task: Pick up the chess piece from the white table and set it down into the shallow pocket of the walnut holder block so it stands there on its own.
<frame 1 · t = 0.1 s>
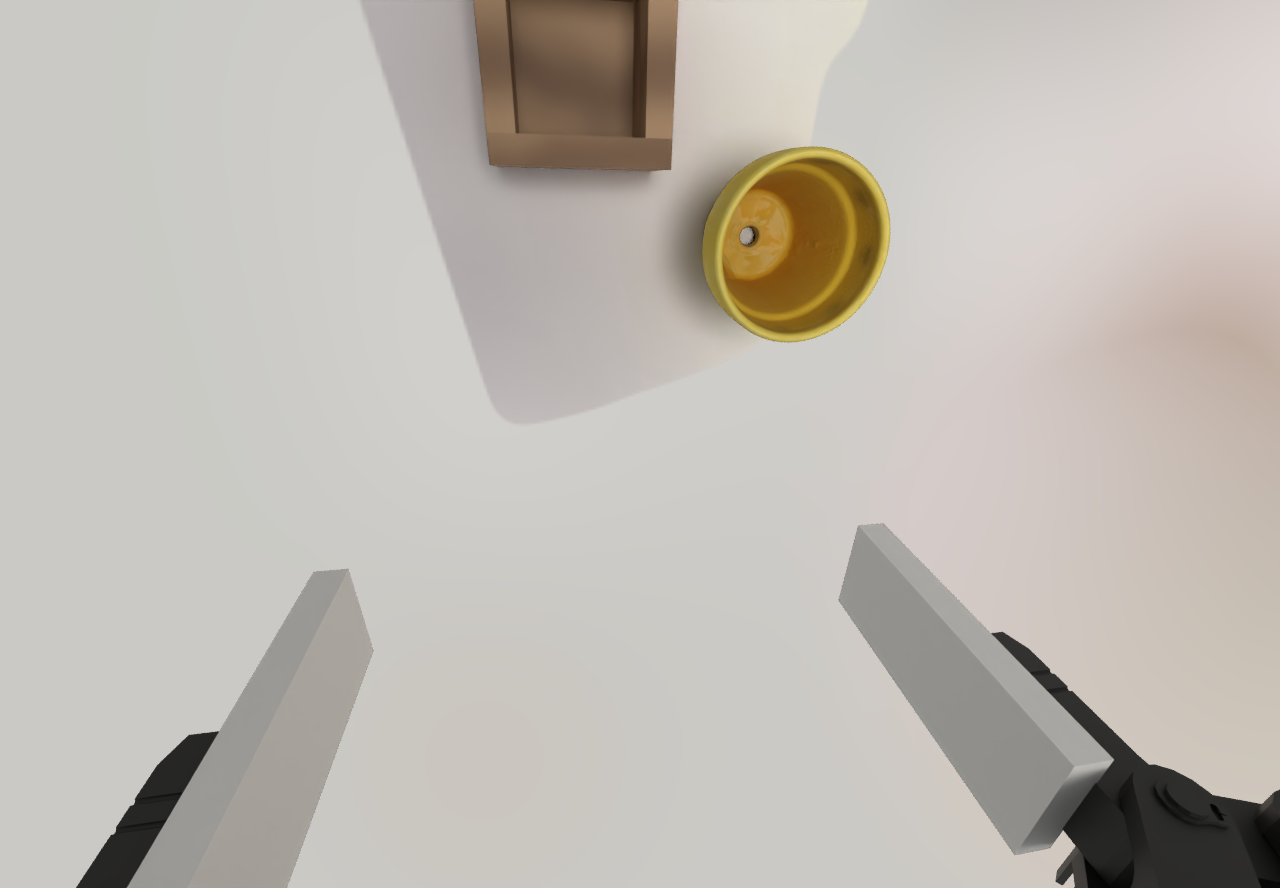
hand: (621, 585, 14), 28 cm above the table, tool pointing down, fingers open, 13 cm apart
plant pot: (744, 235, 37), on the table
walnut holder: (574, 76, 31), on the table
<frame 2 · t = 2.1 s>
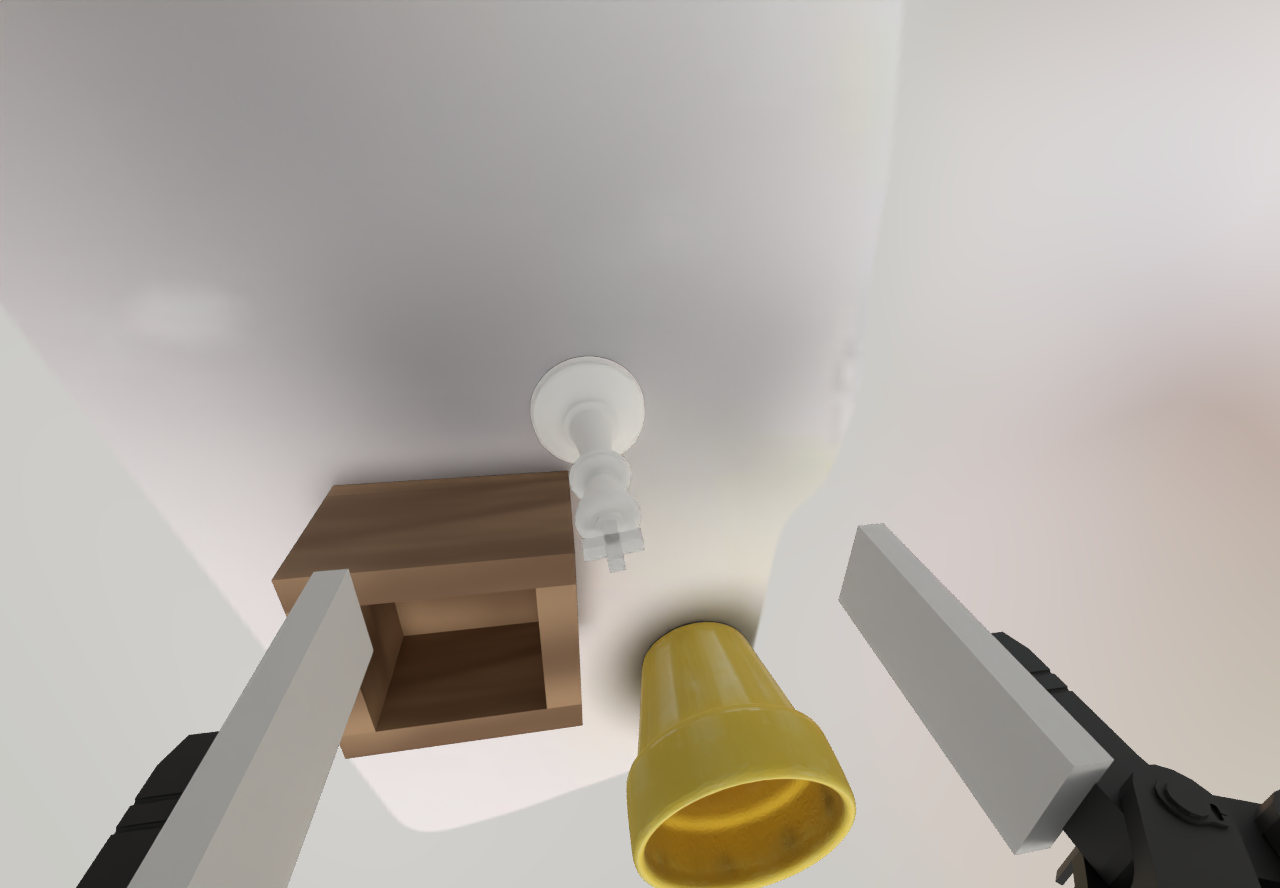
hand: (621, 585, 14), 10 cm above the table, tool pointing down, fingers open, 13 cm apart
plant pot: (692, 657, 31), on the table
chess piece: (587, 408, 23), on the table
walnut holder: (469, 561, 25), on the table
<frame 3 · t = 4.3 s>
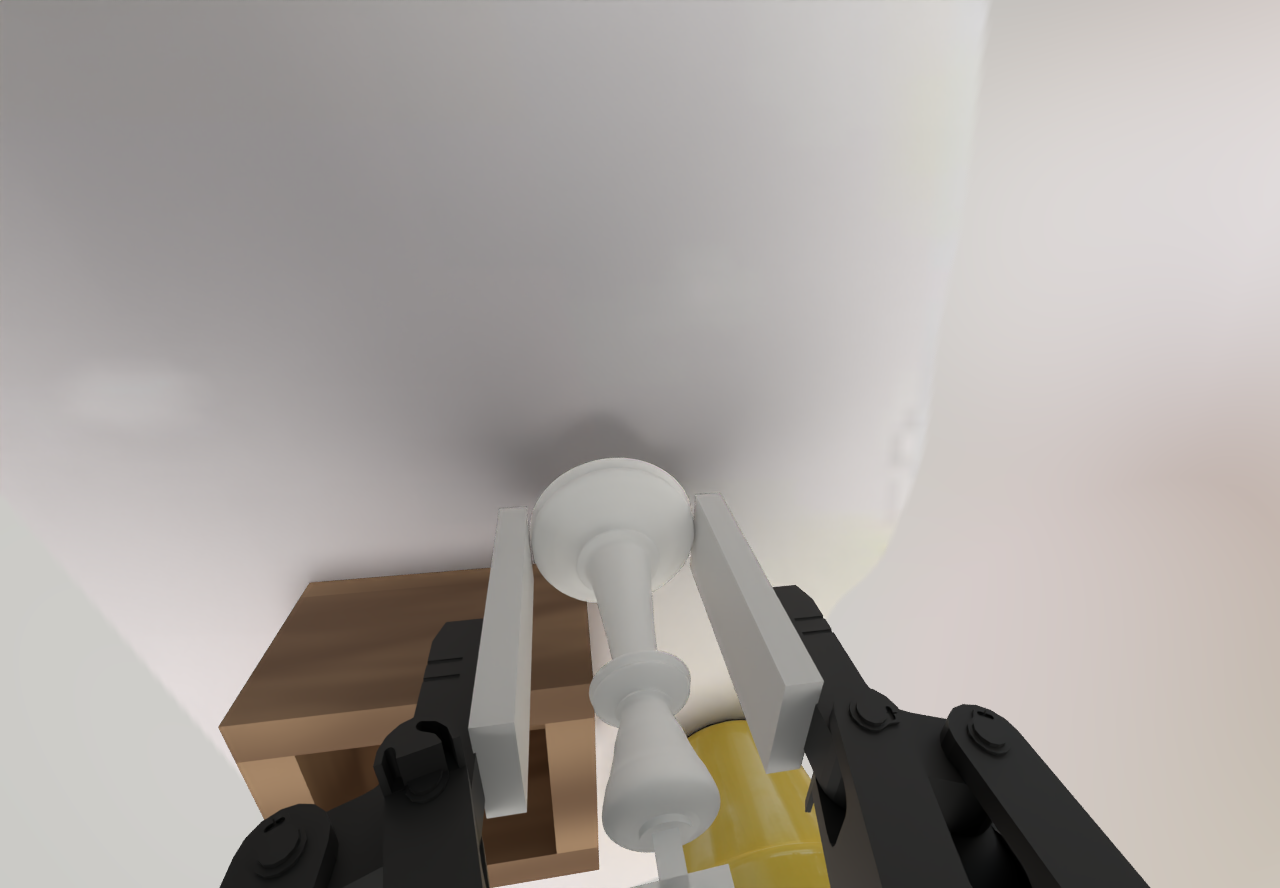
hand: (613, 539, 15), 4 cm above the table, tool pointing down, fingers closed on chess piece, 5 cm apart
plant pot: (722, 757, 28), on the table
chess piece: (611, 524, 16), point 3 cm above the table, touching gripper
walnut holder: (468, 661, 22), on the table
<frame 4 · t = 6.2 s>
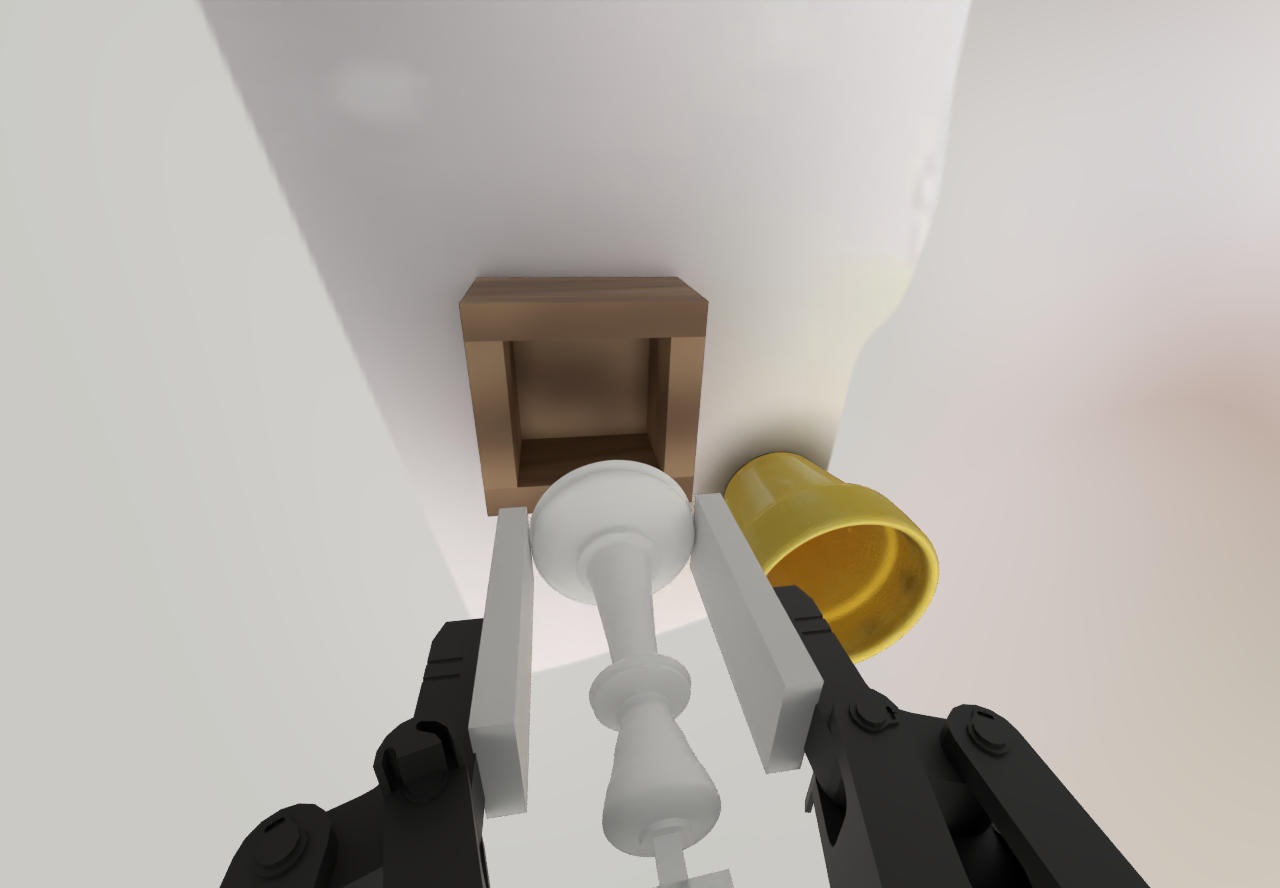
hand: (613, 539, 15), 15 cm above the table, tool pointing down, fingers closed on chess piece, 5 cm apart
plant pot: (767, 494, 34), on the table
chess piece: (611, 526, 16), point 14 cm above the table, touching gripper
walnut holder: (582, 371, 28), on the table
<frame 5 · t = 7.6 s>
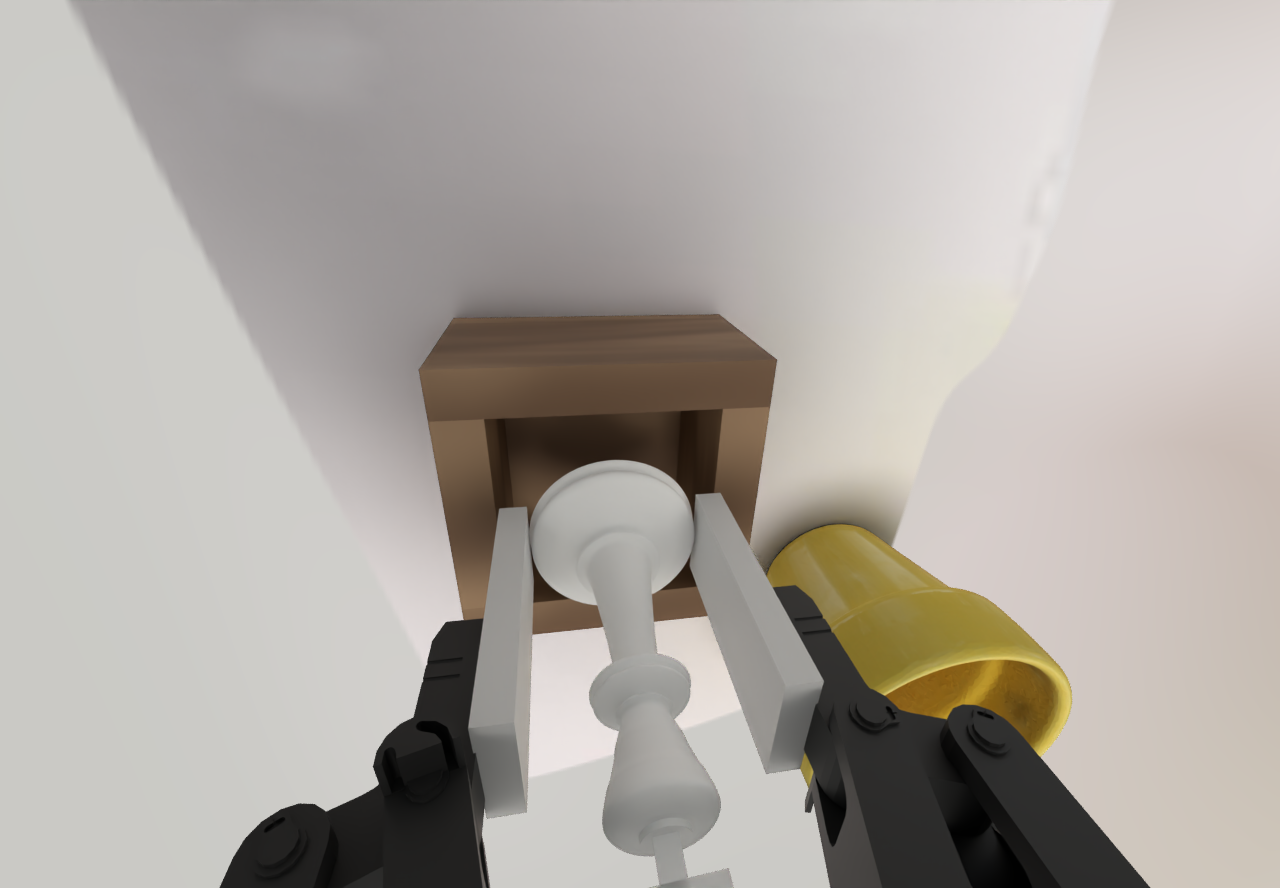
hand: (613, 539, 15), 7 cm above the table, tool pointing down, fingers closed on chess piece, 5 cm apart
plant pot: (819, 571, 28), on the table
chess piece: (611, 526, 16), point 7 cm above the table, touching gripper
walnut holder: (593, 433, 22), on the table
when the fingers open (7 cm above the table, at t = 8.4 s): chess piece drops 6 cm, resting on walnut holder.
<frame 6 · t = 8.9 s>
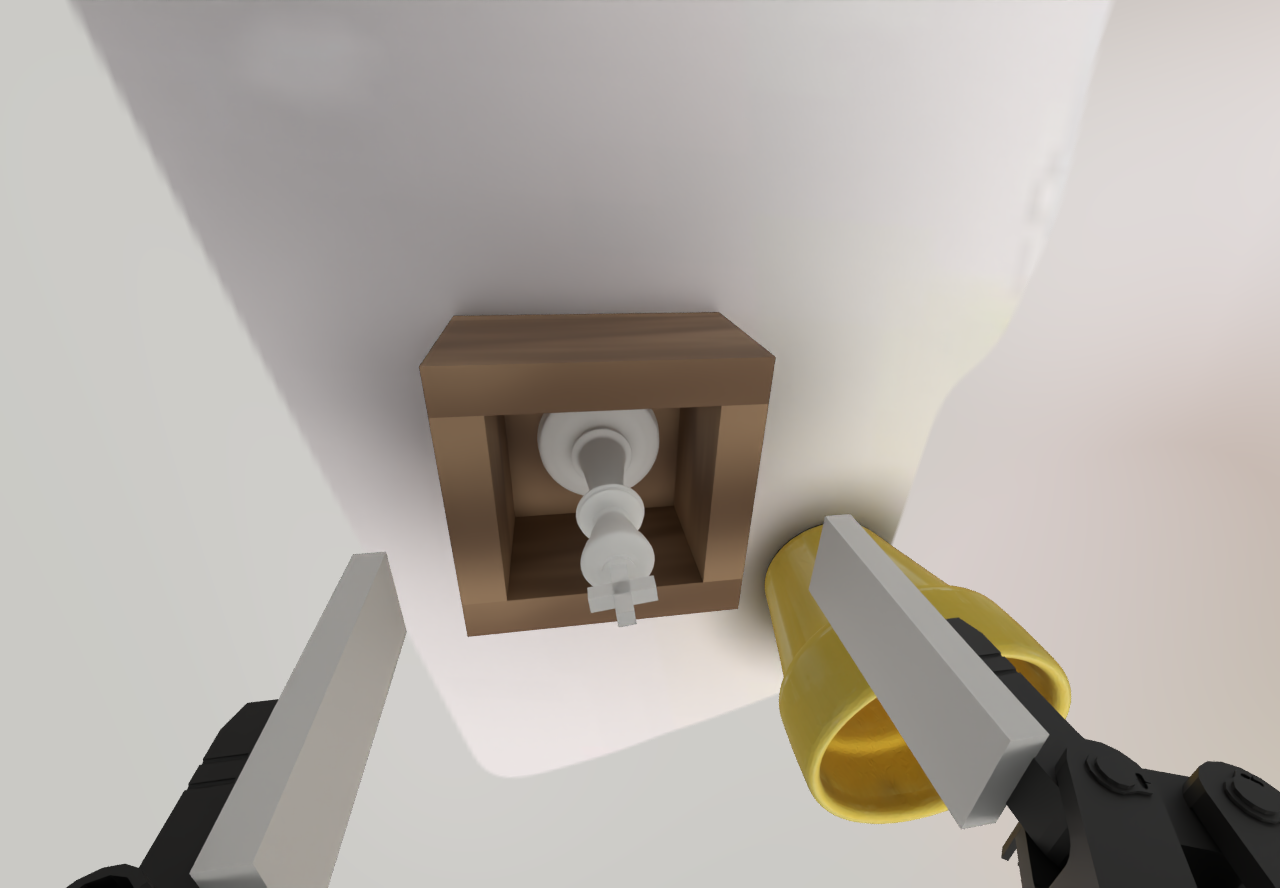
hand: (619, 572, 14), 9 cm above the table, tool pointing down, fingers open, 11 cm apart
plant pot: (818, 569, 28), on the table
chess piece: (598, 436, 21), point 1 cm above the table, touching walnut holder
walnut holder: (593, 430, 22), on the table, touching chess piece
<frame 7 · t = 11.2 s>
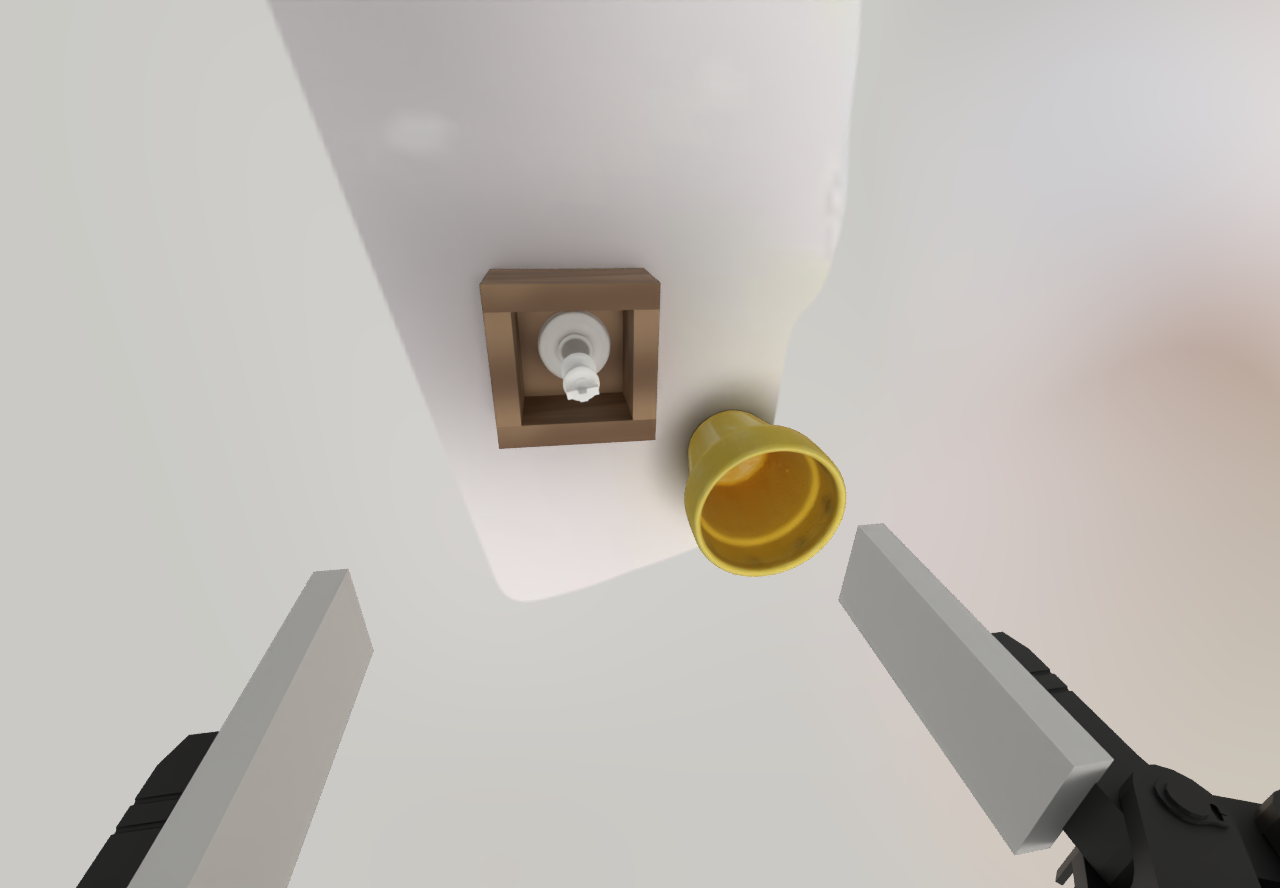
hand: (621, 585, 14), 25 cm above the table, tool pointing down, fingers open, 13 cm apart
plant pot: (725, 446, 42), on the table
chess piece: (574, 343, 35), resting on walnut holder
walnut holder: (571, 342, 36), on the table, touching chess piece
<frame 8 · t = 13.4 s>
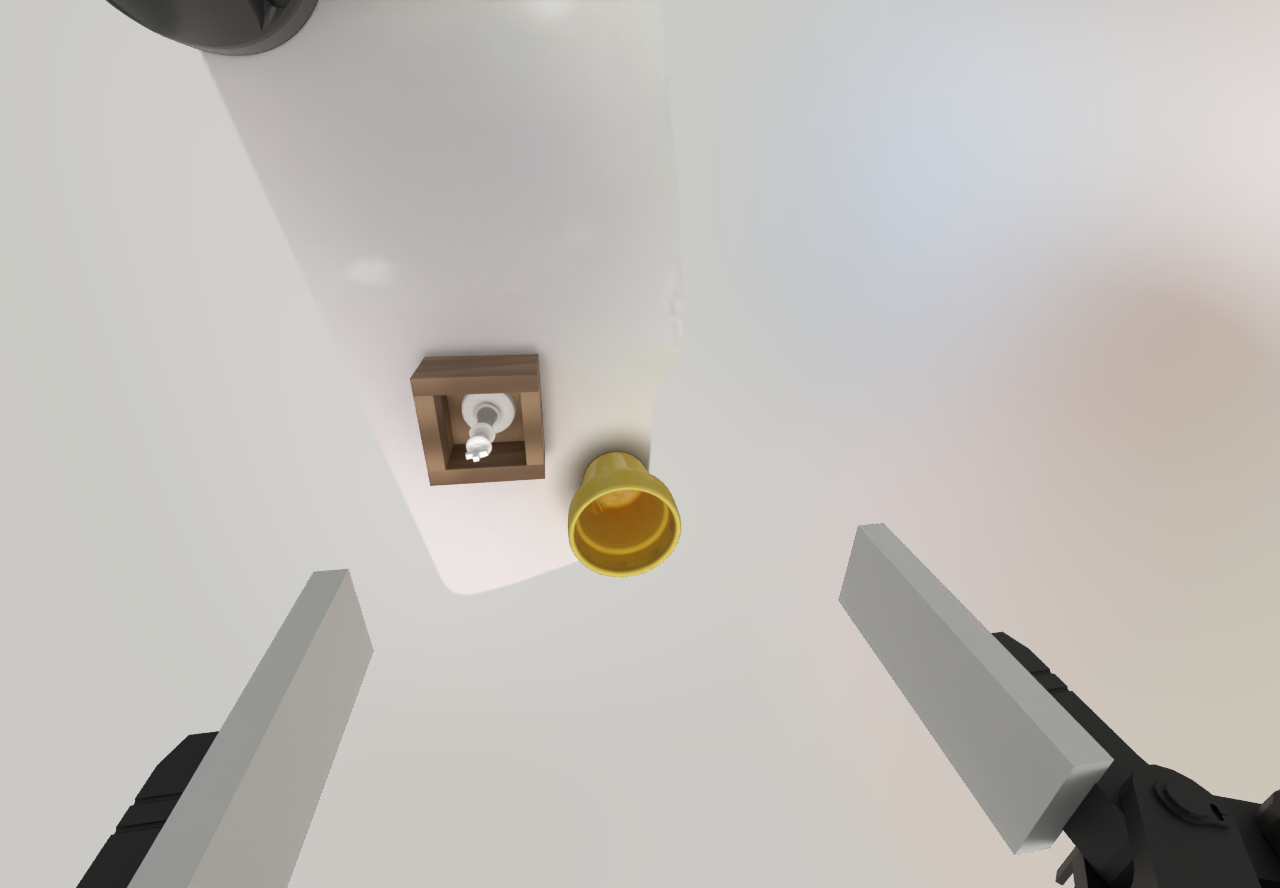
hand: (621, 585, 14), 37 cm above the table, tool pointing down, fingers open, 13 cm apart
plant pot: (613, 478, 55), on the table
chess piece: (489, 407, 49), resting on walnut holder
walnut holder: (488, 405, 49), on the table, touching chess piece
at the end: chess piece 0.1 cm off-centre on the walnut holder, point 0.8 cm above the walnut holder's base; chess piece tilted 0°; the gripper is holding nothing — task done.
